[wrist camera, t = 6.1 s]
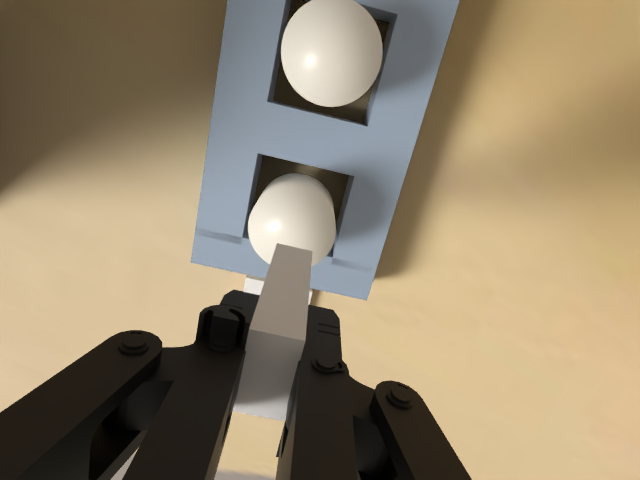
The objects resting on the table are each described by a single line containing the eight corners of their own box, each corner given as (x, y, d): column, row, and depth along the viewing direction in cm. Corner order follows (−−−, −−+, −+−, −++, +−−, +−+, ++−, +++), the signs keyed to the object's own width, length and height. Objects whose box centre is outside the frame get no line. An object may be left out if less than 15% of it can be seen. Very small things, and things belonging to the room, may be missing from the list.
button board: (362, 281, 31) (366, 300, 28) (203, 246, 30) (190, 262, 27) (504, -192, 21) (532, -236, 19) (279, -263, 20) (272, -320, 18)
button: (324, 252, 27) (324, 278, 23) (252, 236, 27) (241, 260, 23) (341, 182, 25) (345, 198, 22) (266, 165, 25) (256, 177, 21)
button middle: (360, 113, 24) (366, 117, 20) (279, 93, 24) (271, 93, 20) (382, 24, 22) (395, 10, 19) (297, 1, 22) (292, -18, 18)
